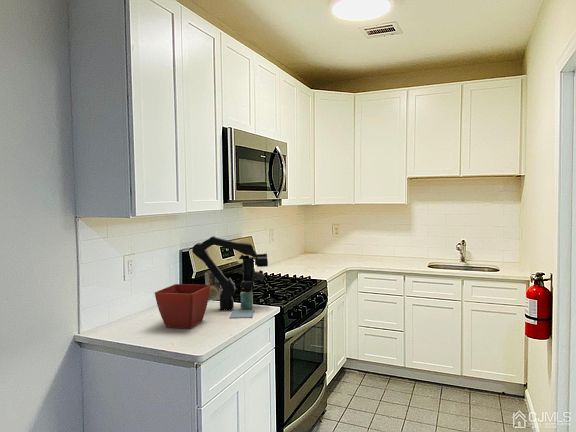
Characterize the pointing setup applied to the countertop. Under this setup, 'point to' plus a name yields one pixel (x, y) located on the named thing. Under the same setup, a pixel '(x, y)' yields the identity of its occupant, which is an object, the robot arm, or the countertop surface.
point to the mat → (242, 314)
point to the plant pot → (182, 304)
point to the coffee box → (213, 286)
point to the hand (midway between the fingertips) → (249, 296)
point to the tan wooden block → (246, 300)
